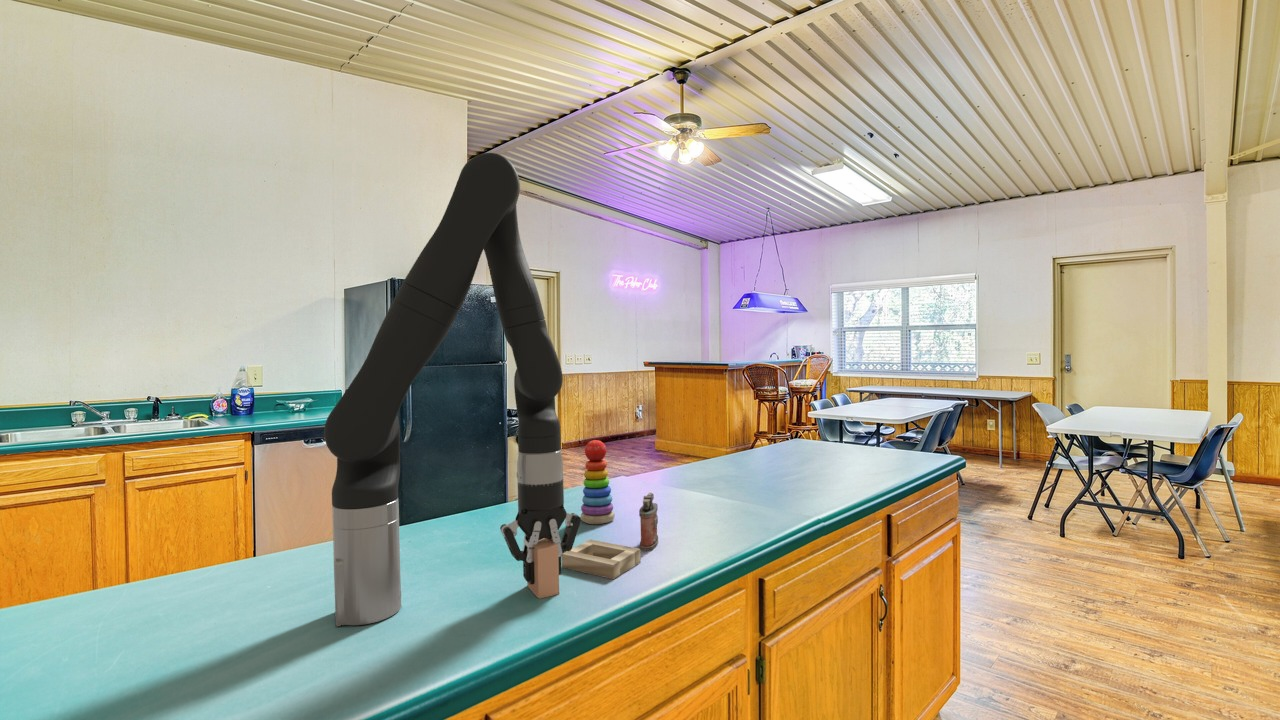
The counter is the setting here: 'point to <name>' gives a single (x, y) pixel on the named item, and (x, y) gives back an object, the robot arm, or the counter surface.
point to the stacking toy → (596, 486)
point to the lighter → (648, 523)
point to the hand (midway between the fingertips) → (542, 579)
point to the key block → (545, 569)
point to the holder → (601, 558)
